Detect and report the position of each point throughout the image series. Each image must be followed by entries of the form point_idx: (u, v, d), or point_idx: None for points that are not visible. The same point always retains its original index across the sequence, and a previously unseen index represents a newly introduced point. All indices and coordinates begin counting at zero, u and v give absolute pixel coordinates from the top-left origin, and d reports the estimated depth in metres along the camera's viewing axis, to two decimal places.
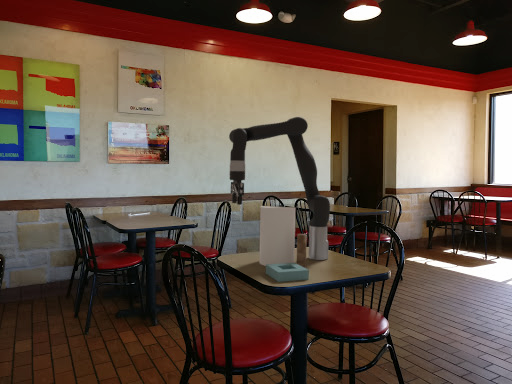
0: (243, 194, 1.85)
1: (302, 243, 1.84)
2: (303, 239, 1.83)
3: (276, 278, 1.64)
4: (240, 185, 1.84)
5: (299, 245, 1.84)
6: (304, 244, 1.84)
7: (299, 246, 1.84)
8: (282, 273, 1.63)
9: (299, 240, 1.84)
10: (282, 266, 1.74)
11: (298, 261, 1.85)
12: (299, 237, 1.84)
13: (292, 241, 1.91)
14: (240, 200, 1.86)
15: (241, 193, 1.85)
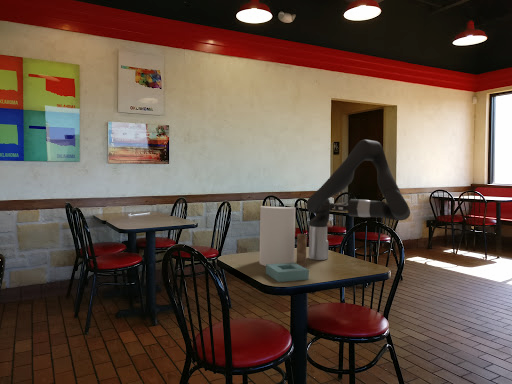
0: None
1: (302, 243, 1.84)
2: (303, 239, 1.83)
3: (276, 278, 1.64)
4: None
5: (299, 245, 1.84)
6: (304, 244, 1.84)
7: (299, 246, 1.84)
8: (282, 273, 1.63)
9: (299, 240, 1.84)
10: (282, 266, 1.74)
11: (298, 261, 1.85)
12: (299, 237, 1.84)
13: (292, 241, 1.91)
14: None
15: None
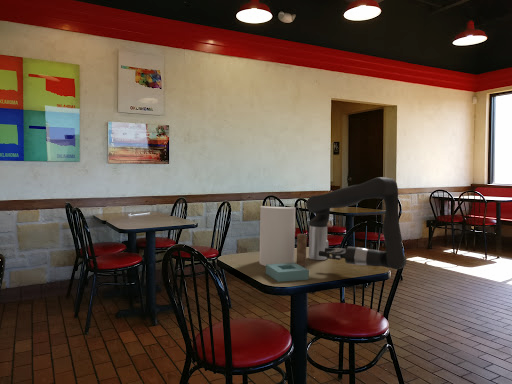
0: None
1: (302, 243, 1.84)
2: (303, 239, 1.83)
3: (276, 278, 1.64)
4: None
5: (299, 245, 1.84)
6: (304, 244, 1.84)
7: (299, 246, 1.84)
8: (282, 273, 1.63)
9: (299, 240, 1.84)
10: (282, 266, 1.74)
11: (298, 261, 1.85)
12: (299, 237, 1.84)
13: (292, 241, 1.91)
14: None
15: None
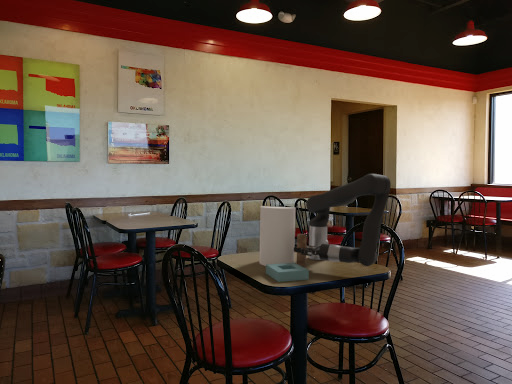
0: (309, 246, 1.89)
1: (302, 243, 1.84)
2: (303, 239, 1.83)
3: (276, 278, 1.64)
4: None
5: (299, 245, 1.84)
6: (304, 244, 1.84)
7: (299, 246, 1.84)
8: (282, 273, 1.63)
9: (299, 240, 1.84)
10: (282, 266, 1.74)
11: (298, 261, 1.85)
12: (299, 237, 1.84)
13: (292, 241, 1.91)
14: None
15: None
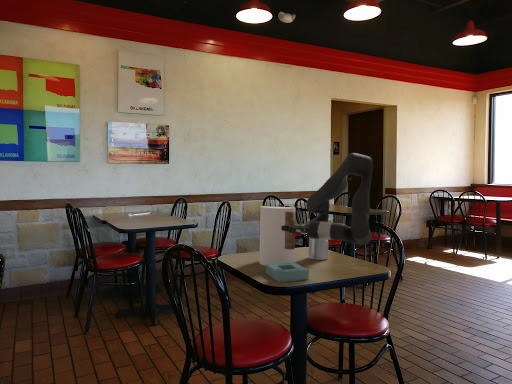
0: None
1: (290, 221, 1.69)
2: (291, 217, 1.69)
3: (276, 278, 1.64)
4: None
5: (287, 223, 1.69)
6: (292, 222, 1.69)
7: (287, 224, 1.69)
8: (282, 273, 1.63)
9: (287, 218, 1.69)
10: (282, 266, 1.74)
11: (286, 240, 1.70)
12: (287, 214, 1.69)
13: None
14: None
15: None
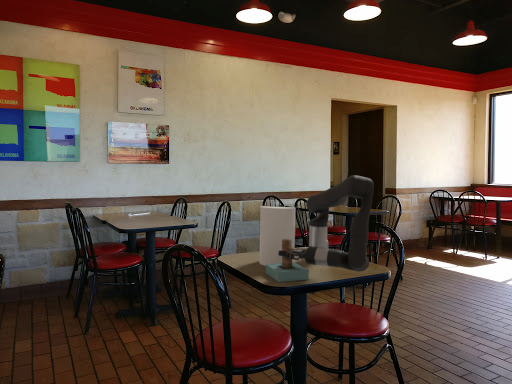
0: None
1: (287, 249, 1.69)
2: (288, 245, 1.69)
3: (276, 278, 1.64)
4: None
5: None
6: (289, 250, 1.69)
7: None
8: (282, 273, 1.63)
9: (284, 246, 1.69)
10: None
11: None
12: (284, 242, 1.69)
13: (292, 241, 1.91)
14: None
15: None
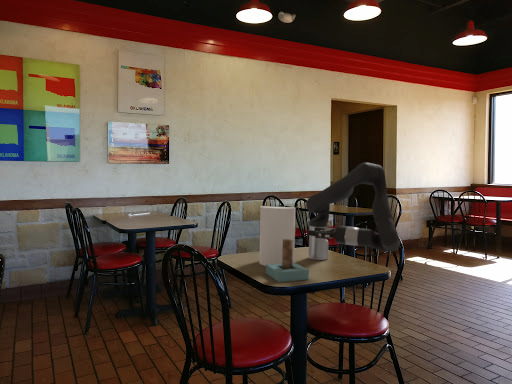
0: (327, 227, 1.74)
1: (288, 249, 1.69)
2: (289, 245, 1.69)
3: (276, 278, 1.64)
4: None
5: (285, 251, 1.69)
6: (290, 250, 1.69)
7: (285, 252, 1.69)
8: (282, 273, 1.63)
9: (285, 246, 1.69)
10: None
11: None
12: (285, 242, 1.69)
13: None
14: None
15: None
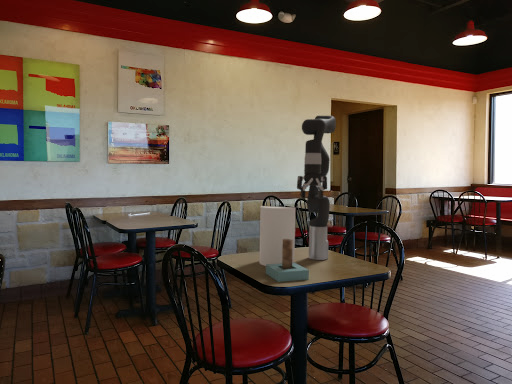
0: None
1: (288, 249, 1.69)
2: (289, 245, 1.69)
3: (276, 278, 1.64)
4: None
5: (284, 251, 1.69)
6: (290, 250, 1.69)
7: (284, 252, 1.69)
8: (282, 273, 1.63)
9: (284, 246, 1.69)
10: None
11: None
12: (284, 242, 1.69)
13: None
14: None
15: None
